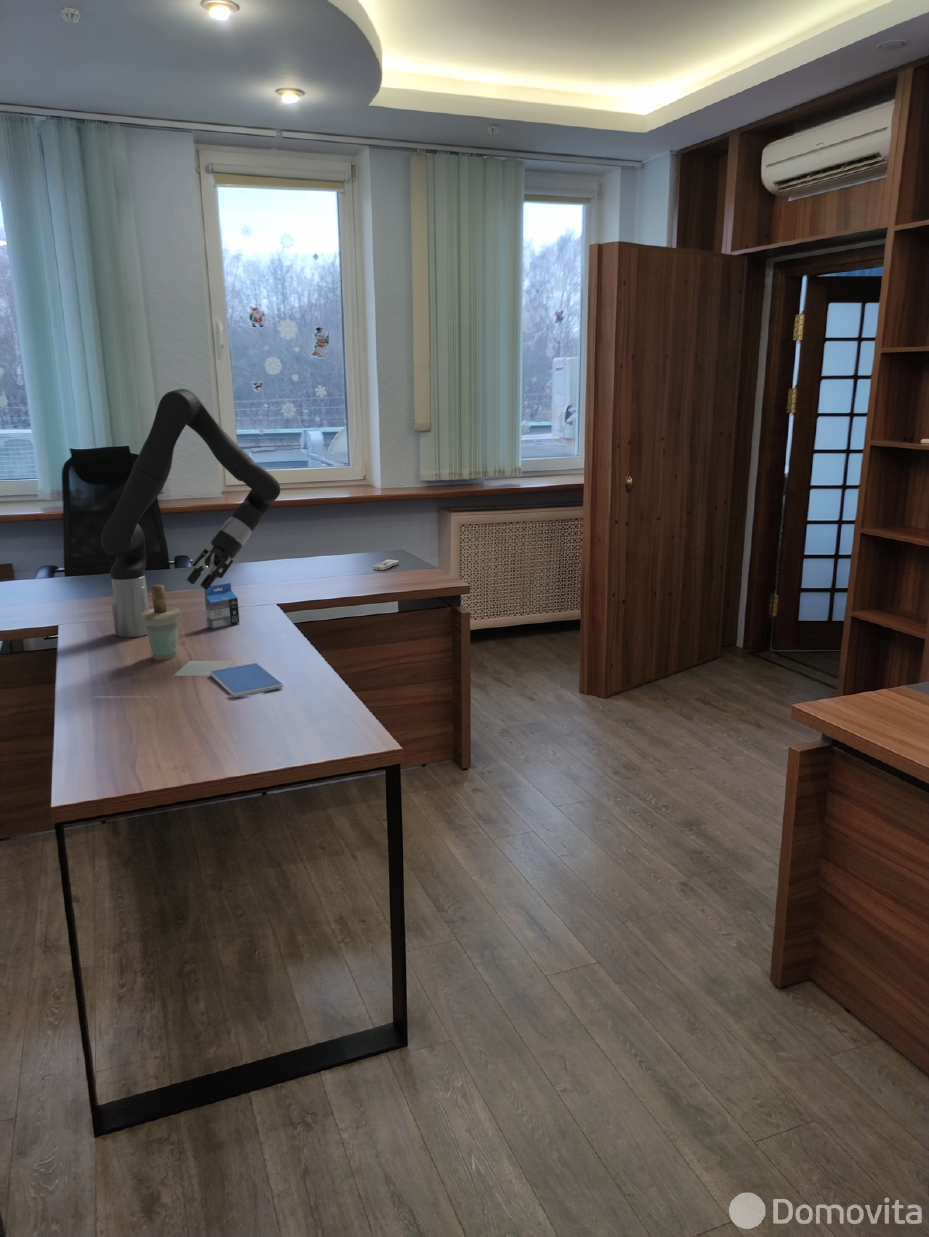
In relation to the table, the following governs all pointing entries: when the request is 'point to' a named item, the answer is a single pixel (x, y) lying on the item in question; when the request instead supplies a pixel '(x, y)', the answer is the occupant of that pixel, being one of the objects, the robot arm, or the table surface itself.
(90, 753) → the table surface
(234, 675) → the tablet computer
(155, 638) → the coffee cup
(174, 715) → the table surface
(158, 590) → the lid
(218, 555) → the robot arm
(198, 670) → the coaster
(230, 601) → the ink cartridge box
